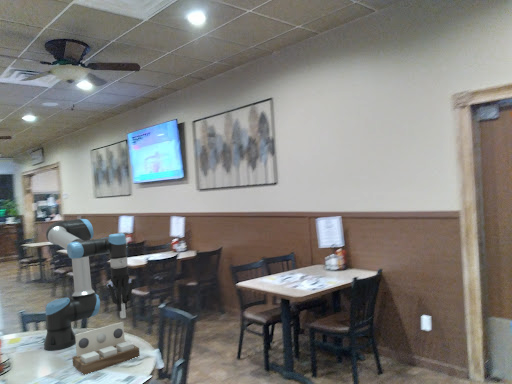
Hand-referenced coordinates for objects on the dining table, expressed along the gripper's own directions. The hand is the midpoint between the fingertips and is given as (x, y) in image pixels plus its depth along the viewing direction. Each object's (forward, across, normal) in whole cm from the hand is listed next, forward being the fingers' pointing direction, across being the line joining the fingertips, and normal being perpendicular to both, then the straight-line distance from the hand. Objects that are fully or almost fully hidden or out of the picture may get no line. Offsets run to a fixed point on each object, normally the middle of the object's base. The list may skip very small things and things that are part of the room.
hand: (123, 317), depth 190 cm
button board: (+18, -8, +3) cm, 20 cm away
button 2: (+15, 0, 0) cm, 15 cm away
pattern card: (+14, -8, +8) cm, 18 cm away
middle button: (+15, -8, 0) cm, 17 cm away
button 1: (+15, -16, 0) cm, 22 cm away
